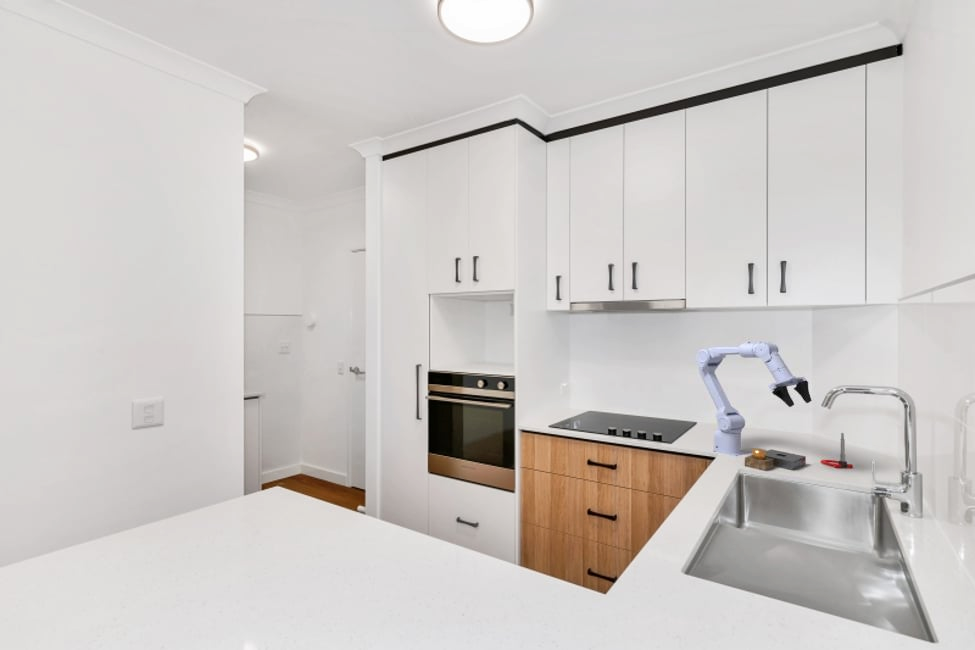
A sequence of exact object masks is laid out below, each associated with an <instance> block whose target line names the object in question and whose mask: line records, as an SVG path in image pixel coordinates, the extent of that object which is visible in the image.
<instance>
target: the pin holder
mask: <svg viewBox="0 0 975 650" xmlns="http://www.w3.org/2000/svg"><path fill="white" fill-rule="evenodd" d="M773 460H774V459H772V458H767V457H766V460H758V459H754V458H752V454H751V455H748V456H746V457H745V456H744V467H746V468H750V469H755V470H758V471H763V472H766V471H768V470H771V469H774V466H773Z"/></svg>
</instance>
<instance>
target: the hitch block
mask: <svg viewBox="0 0 975 650" xmlns="http://www.w3.org/2000/svg"><path fill="white" fill-rule="evenodd" d="M766 457H767V458H772V459H774V460H773V468H774V467H776V468H779V469H784V470H788V471H792V470H793V471H794V470H797V469H800V468H802V467H804V466H806V457H807V456H805V455H801V454H796V453H791V452H788V451H787V452H786V451H781V450H776V449H769V450H766Z"/></svg>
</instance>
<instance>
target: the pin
mask: <svg viewBox="0 0 975 650" xmlns="http://www.w3.org/2000/svg"><path fill="white" fill-rule="evenodd" d="M766 451H767V449H763V448H757V447H755V448H752V453H751V455H752V458H754V459H758V460H766Z"/></svg>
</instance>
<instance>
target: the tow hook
mask: <svg viewBox="0 0 975 650" xmlns="http://www.w3.org/2000/svg"><path fill="white" fill-rule="evenodd" d="M844 435H845V433H844V432H841V433H840V437H841V438H840V455H839V460H834V459H821V460H820V463H821V464H822V465H825V466H831V467H833V468H834V469H853V468H854V465H853V464H852V463H848V461H847V460H846V453H845V450H846V449H845V444H846V443H845V436H844Z"/></svg>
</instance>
